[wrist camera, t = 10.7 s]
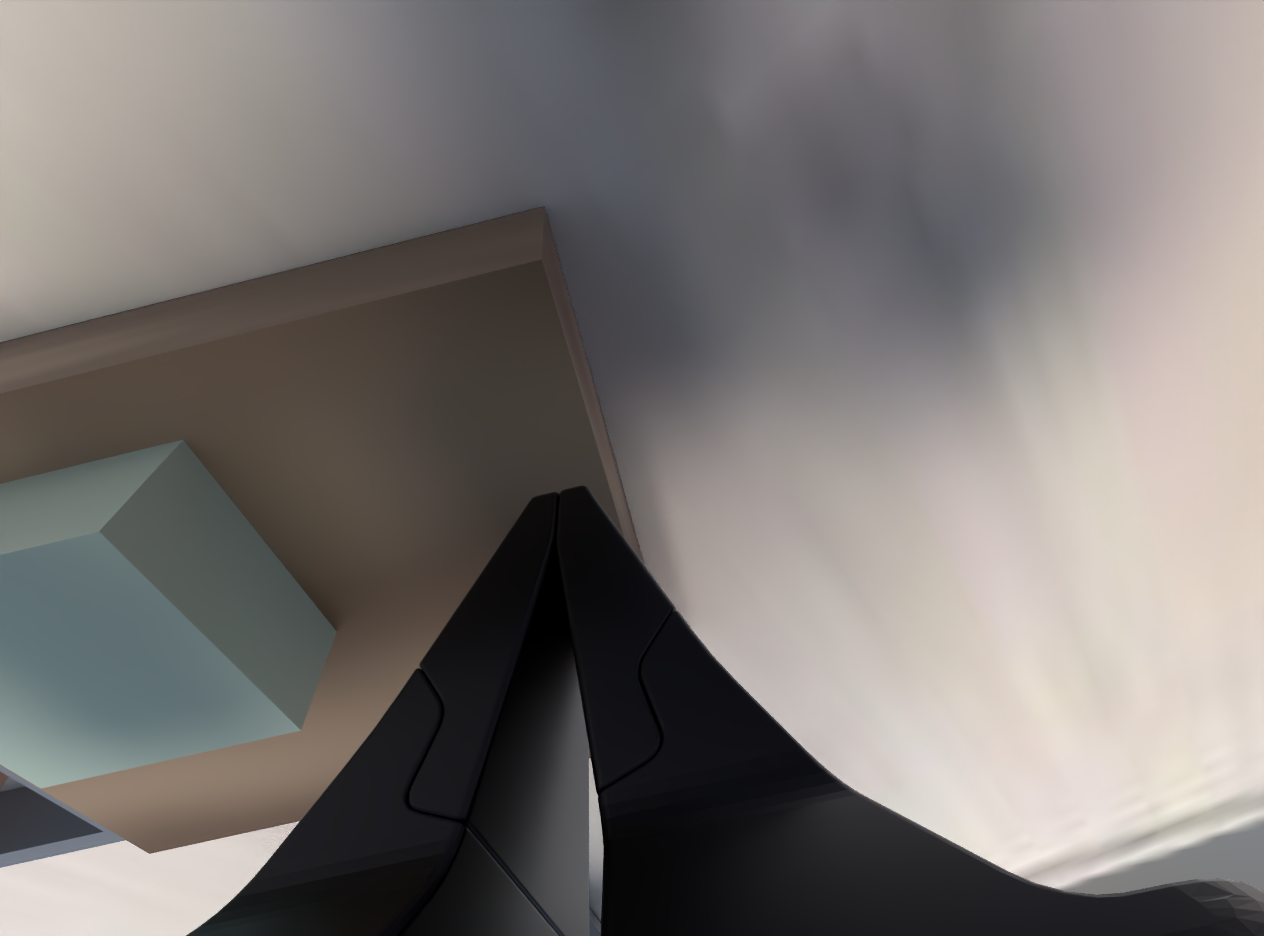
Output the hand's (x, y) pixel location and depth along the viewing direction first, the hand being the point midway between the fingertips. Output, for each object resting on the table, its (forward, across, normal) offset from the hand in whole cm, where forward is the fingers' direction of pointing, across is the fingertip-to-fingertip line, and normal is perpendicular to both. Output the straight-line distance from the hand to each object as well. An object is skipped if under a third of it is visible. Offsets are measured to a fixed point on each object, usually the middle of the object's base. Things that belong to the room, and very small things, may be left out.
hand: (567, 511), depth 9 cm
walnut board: (+4, +6, +2) cm, 8 cm away
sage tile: (+1, +7, 0) cm, 7 cm away
